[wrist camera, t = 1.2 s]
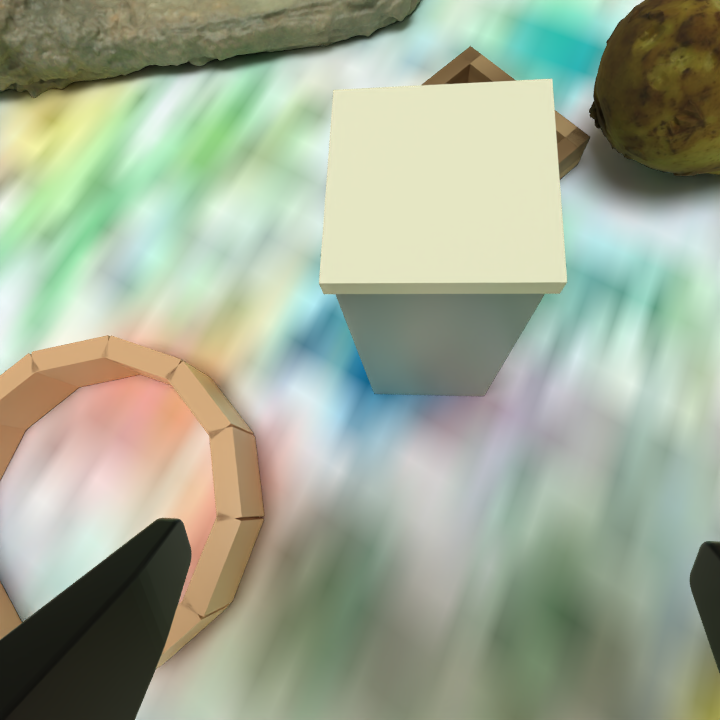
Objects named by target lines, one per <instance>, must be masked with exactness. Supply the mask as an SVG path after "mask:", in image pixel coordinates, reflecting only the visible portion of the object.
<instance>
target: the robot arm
mask: <svg viewBox="0 0 720 720" xmlns="http://www.w3.org/2000/svg"><path fill="white" fill-rule="evenodd" d="M190 562H191V547H190V544H189V540H188V537H187V533H186V530H185V527H184V524H183V522H182V521H181V520H180V519H174V518H160V519H157V520H156V521H154V522H153V523H152V524H150V525H149V526H148V527H146V528H145V529H144V530H142V531H141V532H140V533H138V534H137V535H136V536H135V537H133V538H132V539H131V540H129V541H128V542H127V543H125V544H124V545H123V546H122V547H120V548H119V549H118V550H116V551H115V552H114V553H112V554H111V555H110V556H109V557H107V558H106V559H105V560H103V561H102V562H101V563H99V564H98V565H97V566H95V567H94V568H93V569H92V570H90V571H89V572H88V573H86V574H85V575H84V576H82V577H81V578H80V579H79V580H77V581H76V582H75V583H73V584H72V585H71V586H69V587H68V588H67V589H66V590H64V591H63V592H62V593H60V594H59V595H58V596H56V597H55V598H54V599H52V600H51V601H50V602H49V603H47V604H46V605H45V606H43V607H42V608H41V609H39V610H38V611H37V612H36V613H34V614H33V615H32V616H30V617H29V618H28V619H26V620H25V621H24V622H22V623H21V624H20V625H19V626H17V627H16V628H15V629H13V630H12V631H11V632H9V633H8V634H7V635H6V636H4V637H3V638H2V639H0V720H135V718H136V715H137V713H138V711H139V708H140V706H141V703H142V701H143V699H144V696H145V694H146V691H147V689H148V686H149V684H150V682H151V679H152V677H153V674H154V672H155V669H156V667H157V665H158V662H159V660H160V657H161V655H162V652H163V650H164V647H165V644H166V641H167V638H168V635H169V632H170V629H171V625H172V622H173V619H174V615H175V612H176V609H177V606H178V602H179V599H180V596H181V592H182V589H183V586H184V582H185V579H186V576H187V572H188V569H189V566H190ZM690 587H691V591H692V594H693V597H694V600H695V603H696V606H697V608H698V611H699V614H700V617H701V620H702V623H703V626H704V629H705V632H706V635H707V638H708V641H709V644H710V647H711V650H712V652H713V655H714V658H715V661H716V664H717V667H718V670H719V673H720V542H715V541H707V542H704V543H703V544H702V545H701V547H700V549H699V552H698V554H697V557H696V560H695V562H694V565H693V568H692V570H691V573H690Z"/></svg>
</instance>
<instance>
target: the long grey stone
mask: <svg viewBox="0 0 720 720" xmlns="http://www.w3.org/2000/svg"><path fill="white" fill-rule="evenodd" d="M419 2H420V0H0V92H3V91H5V90H7V89H16V90H17V91H19V92H23V91H25V90H27V91H28V92H29V94H30V95H31V97H33V98H36V97H37V96H39V95H40V94H41V93H43V92H45V91H47V90H48V89H51V88H59V89H64V88H65V87H66V86H68V85H69V84H70V83H72V82H76V81H82V80H96V79H104V78H109V77H115V76H119V75H120V74H122V75H128V74H130V73H132V72H134V71H139V70H141V69H142V68H144V67H146V66H148V65H159V66H167V65H175V66H178V65H180V64H182V63H186V62H188V61H189V62H190V63H191V64H193V65H196V66H201V65H204V64H206V63H207V62H209V61H211V60H213V59H215V58H216V59H218V60H224V59H226V58H230V57H233V56H235V55H242V54H249V53H257V52H265V51H268V52H274V51H278V50H279V51H282V50H292V49H297V48H305V47H311V46H321V45H325V46H329V45H331V44H332V43H334V42H338V41H341V40H345V39H348V38H350V37H352V36H356V35H365V36H370V35H371V34H372V33H373V32H374V31H375V30H376V29H379V28H381V27H386V26H388V25H390V24H393V23H395V22H396V21H403V19H404V18H405V17H406V16H408V15H410V14H411V13H412V11H414V10H415V8H416V6H417V4H418V3H419Z"/></svg>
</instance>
